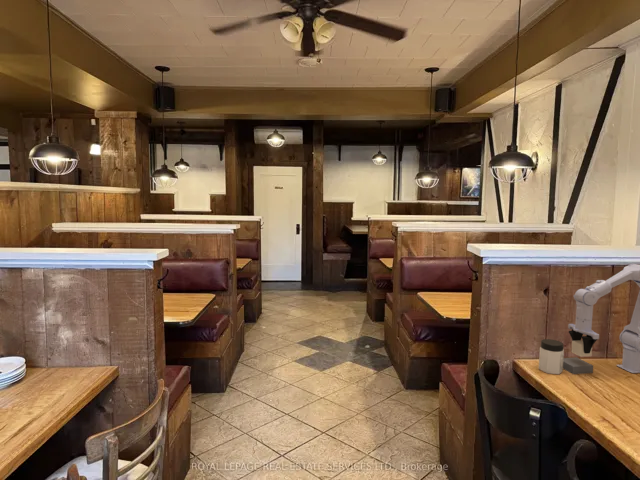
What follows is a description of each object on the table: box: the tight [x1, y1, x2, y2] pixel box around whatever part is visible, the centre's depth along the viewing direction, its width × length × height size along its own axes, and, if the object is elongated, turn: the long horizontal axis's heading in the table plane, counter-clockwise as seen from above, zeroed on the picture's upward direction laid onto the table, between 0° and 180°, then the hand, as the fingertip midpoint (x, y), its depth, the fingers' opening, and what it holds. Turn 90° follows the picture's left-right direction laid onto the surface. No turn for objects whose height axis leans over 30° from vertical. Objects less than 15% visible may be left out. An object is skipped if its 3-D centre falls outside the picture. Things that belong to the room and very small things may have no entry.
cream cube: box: [571, 339, 593, 358], centre depth 172 cm, size 5×5×5 cm
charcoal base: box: [563, 356, 594, 375], centre depth 174 cm, size 9×9×4 cm
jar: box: [538, 338, 565, 375], centre depth 173 cm, size 9×8×12 cm
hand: (581, 350), depth 172 cm, fingers closed on cream cube, 5 cm apart
